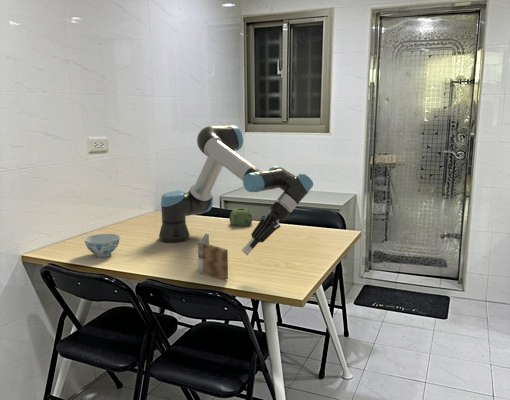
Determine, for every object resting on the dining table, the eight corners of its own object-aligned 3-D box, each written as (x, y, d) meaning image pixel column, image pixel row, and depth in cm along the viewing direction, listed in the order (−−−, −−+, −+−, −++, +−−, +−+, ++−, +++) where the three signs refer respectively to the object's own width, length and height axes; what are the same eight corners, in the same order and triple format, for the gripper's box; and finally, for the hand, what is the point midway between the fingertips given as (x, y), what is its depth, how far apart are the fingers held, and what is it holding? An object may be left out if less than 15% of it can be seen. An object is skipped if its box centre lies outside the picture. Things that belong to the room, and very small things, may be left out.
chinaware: (84, 252, 213) (83, 235, 212) (118, 248, 219) (117, 232, 218) (86, 261, 200) (85, 244, 198) (123, 257, 206) (122, 240, 204)
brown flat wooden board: (197, 270, 187) (196, 242, 185) (202, 269, 189) (202, 241, 187) (223, 280, 177) (223, 250, 175) (229, 278, 179) (228, 248, 177)
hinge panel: (203, 260, 201) (203, 233, 198) (210, 261, 201) (210, 233, 198) (198, 273, 186) (197, 244, 183) (205, 273, 186) (204, 244, 183)
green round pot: (236, 220, 273) (236, 206, 272) (256, 223, 268) (256, 208, 266) (222, 226, 259) (222, 211, 258) (243, 229, 253) (243, 213, 252)
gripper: (296, 216, 181) (257, 263, 178) (281, 209, 192) (244, 254, 189) (284, 204, 178) (244, 251, 174) (270, 198, 189) (232, 242, 186)
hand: (244, 252), depth 182 cm, fingers closed
